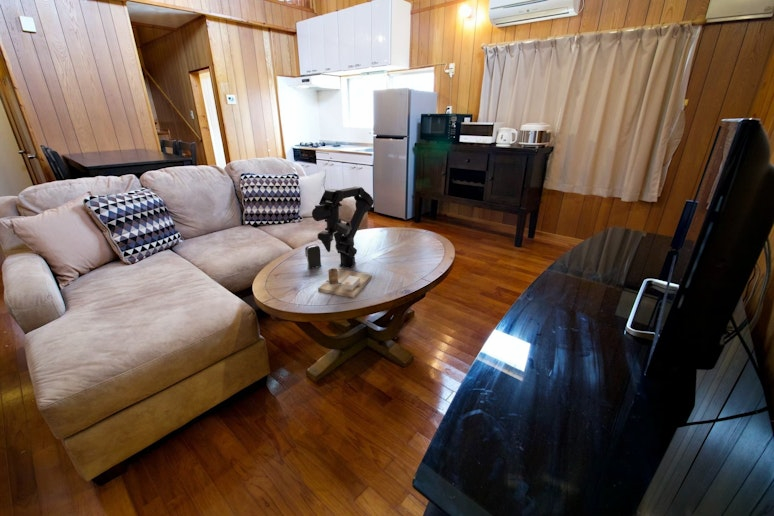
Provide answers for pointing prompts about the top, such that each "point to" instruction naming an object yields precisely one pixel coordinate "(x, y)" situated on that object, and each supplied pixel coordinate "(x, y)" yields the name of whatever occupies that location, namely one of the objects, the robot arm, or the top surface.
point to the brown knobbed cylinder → (333, 276)
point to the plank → (342, 277)
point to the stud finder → (350, 282)
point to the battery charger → (313, 256)
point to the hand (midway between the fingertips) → (333, 248)
